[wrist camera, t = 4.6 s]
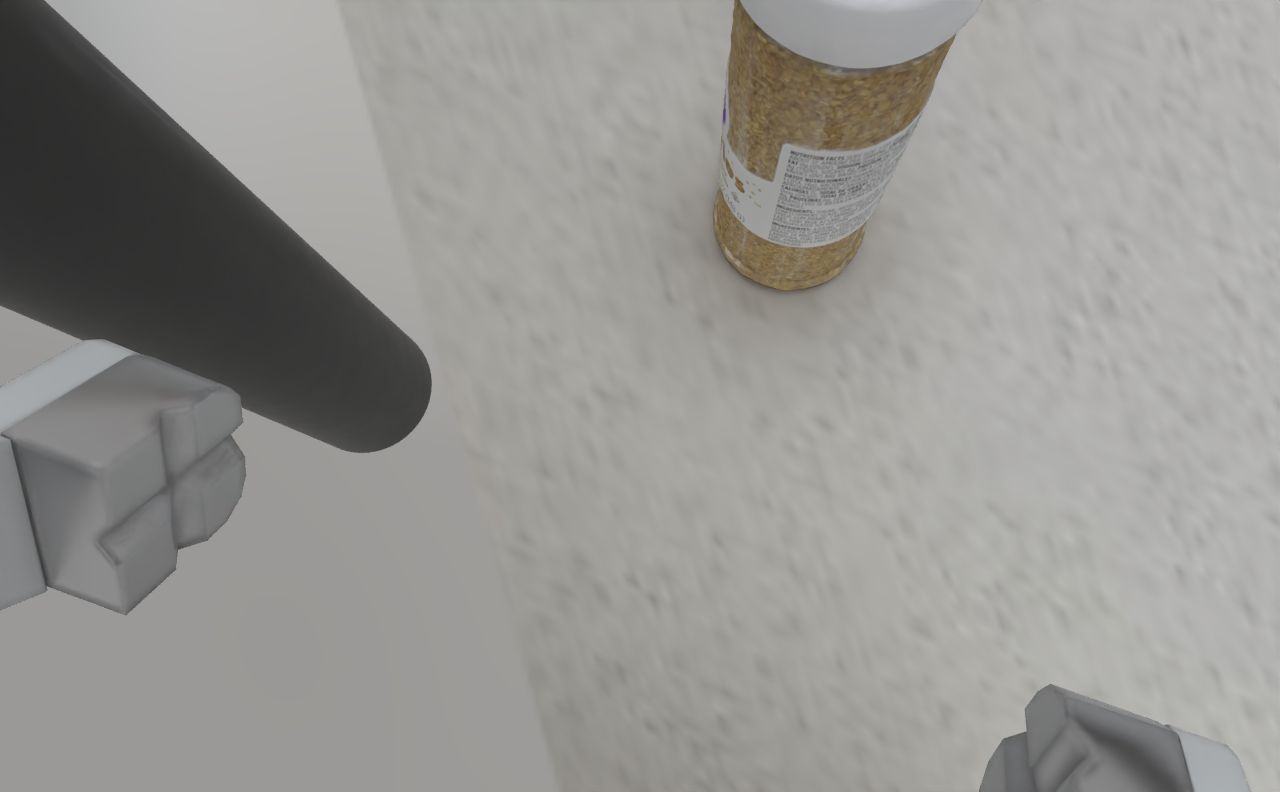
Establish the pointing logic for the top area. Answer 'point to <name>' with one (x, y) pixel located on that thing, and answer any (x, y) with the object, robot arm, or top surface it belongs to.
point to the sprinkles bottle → (820, 125)
